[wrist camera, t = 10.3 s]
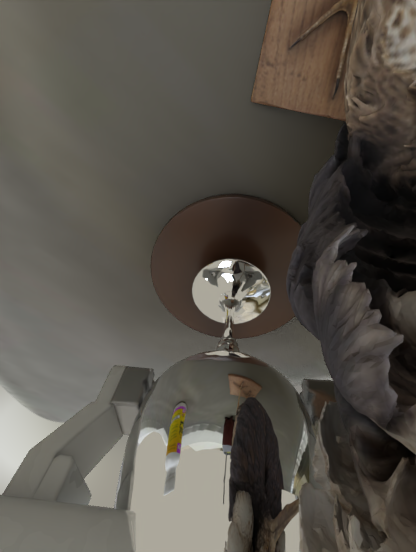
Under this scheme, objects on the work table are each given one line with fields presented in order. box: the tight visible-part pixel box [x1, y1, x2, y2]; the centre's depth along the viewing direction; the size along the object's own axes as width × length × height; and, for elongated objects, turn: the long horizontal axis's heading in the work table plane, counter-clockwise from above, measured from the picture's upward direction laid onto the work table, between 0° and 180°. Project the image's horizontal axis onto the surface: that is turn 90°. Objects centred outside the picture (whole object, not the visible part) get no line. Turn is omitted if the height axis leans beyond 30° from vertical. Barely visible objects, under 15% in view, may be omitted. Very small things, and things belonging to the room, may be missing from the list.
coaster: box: [151, 194, 301, 339], centre depth 18 cm, size 10×10×1 cm
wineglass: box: [114, 259, 324, 552], centre depth 11 cm, size 6×6×12 cm
